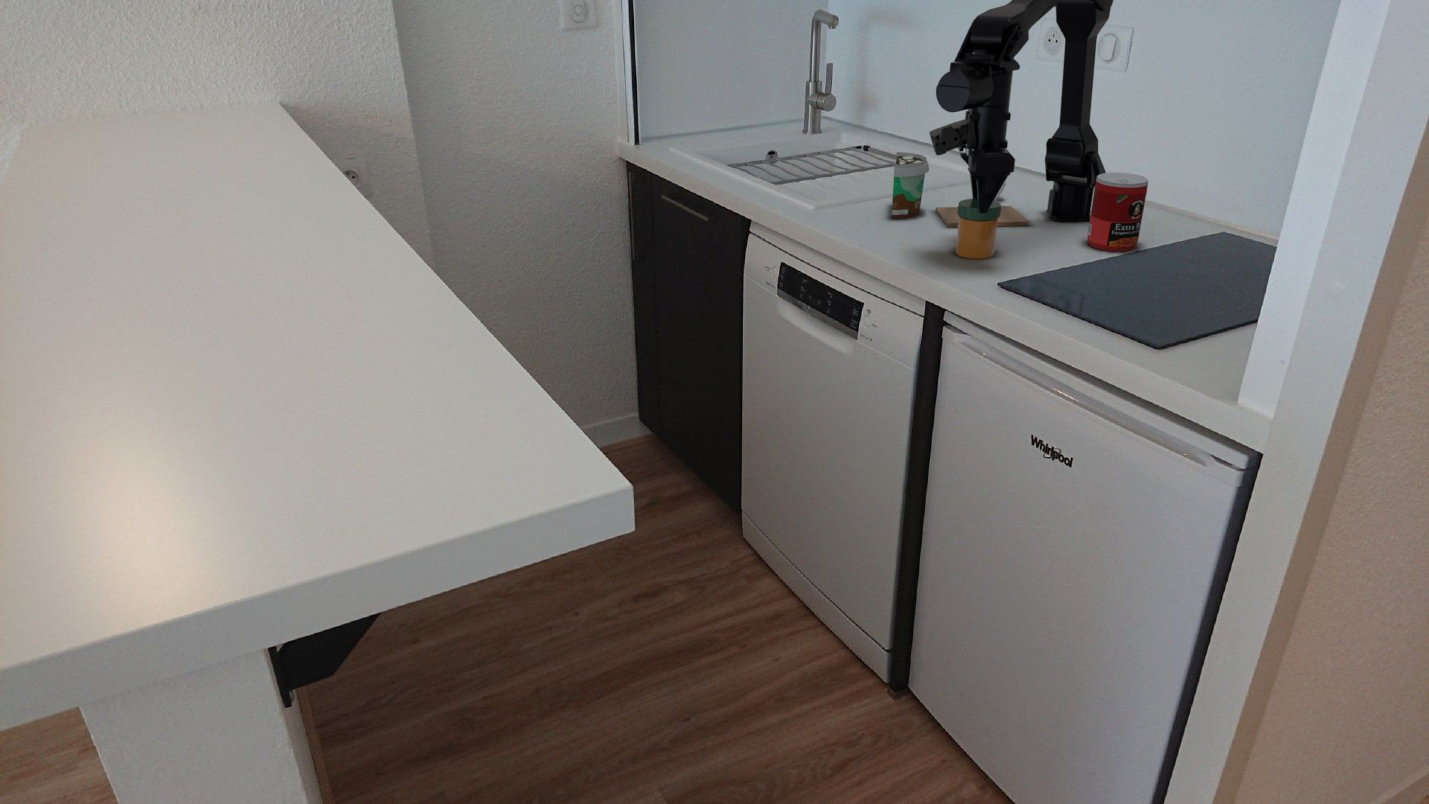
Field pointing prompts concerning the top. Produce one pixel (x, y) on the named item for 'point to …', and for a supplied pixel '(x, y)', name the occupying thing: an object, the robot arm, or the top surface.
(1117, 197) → the canned food
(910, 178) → the food container
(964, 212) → the lid
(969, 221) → the jar
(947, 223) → the cork mat
